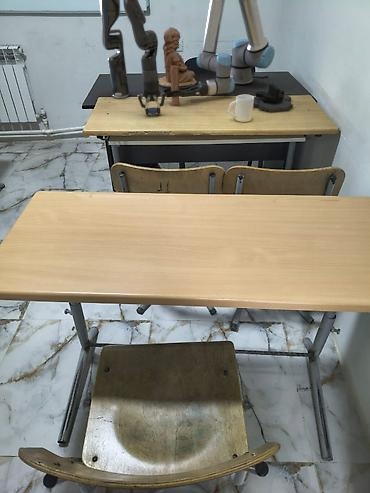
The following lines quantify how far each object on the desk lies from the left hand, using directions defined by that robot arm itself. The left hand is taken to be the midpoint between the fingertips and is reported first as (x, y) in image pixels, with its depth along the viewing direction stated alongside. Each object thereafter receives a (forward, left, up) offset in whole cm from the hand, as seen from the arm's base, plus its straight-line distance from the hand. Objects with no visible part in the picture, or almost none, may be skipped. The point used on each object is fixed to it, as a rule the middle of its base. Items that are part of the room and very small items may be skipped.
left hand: (153, 114), depth 181 cm
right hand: (-10, +12, +6) cm, 17 cm away
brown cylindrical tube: (-10, +17, 0) cm, 20 cm away
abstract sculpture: (+18, +60, 0) cm, 62 cm away
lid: (0, 0, +3) cm, 3 cm away
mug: (+27, +35, 0) cm, 44 cm away
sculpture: (-46, +35, 0) cm, 57 cm away
